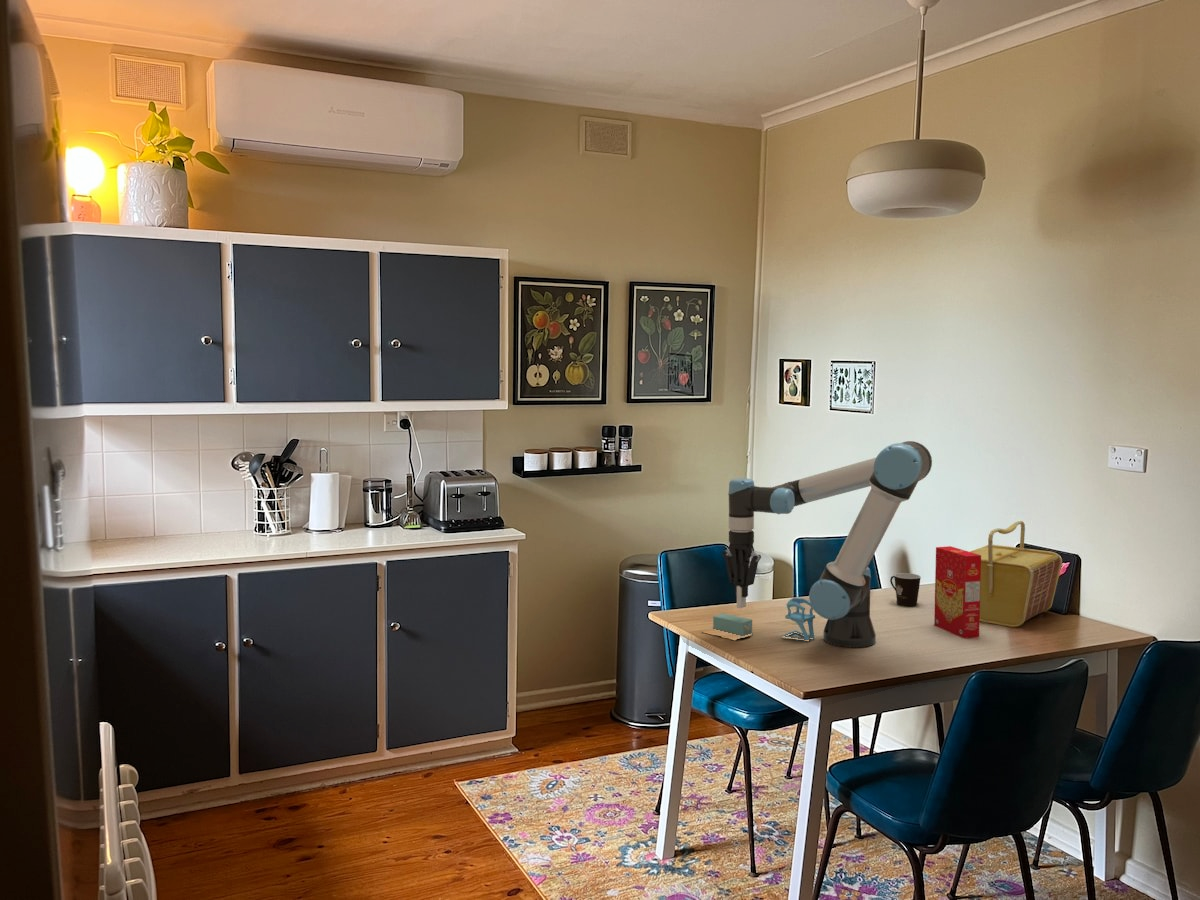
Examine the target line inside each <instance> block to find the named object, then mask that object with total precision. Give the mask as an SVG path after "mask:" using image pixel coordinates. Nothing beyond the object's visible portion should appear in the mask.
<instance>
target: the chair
mask: <svg viewBox="0 0 1200 900" xmlns="http://www.w3.org/2000/svg"><path fill="white" fill-rule="evenodd" d="M802 604H806V605H808V606H809V607H810V608H809V613H806V612H805V610H806V607H804V606H803V605H802ZM793 607H796V609H795V610H796V611H794V612H792V611H791V608H793ZM786 608H787V614H785V615H784V618H785V619H787V620H791V621H792V622H795V624H797V625H798V627H799V629H800V630H801V631H800V630H792V631H790V632H787V633H785V634H782V635H781V637H782V636H785V637H791V638H798V639H804V640H810V638H813V639H814V640H815V633H814V623H813V622H814V619H815V618H816V615H815V614H813V611H814V609H813V608H812V606H811V603H810V600H807V599H804V598H797V597H793V598H791V599H789V600H788V601H787V602H786ZM800 610H801V611H800ZM805 622H807V624H808V633H809V634H808V633H807V630H806V627H805V625H804V623H805ZM794 632H797V633H799V634H802V635H804V636H805V637H803V636H793V635H791V636H786V635H788V634H791V633H794ZM810 641H811V640H810Z"/></svg>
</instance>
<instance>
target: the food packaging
mask: <svg viewBox="0 0 1200 900" xmlns="http://www.w3.org/2000/svg"><path fill="white" fill-rule="evenodd" d="M934 575H935V577H934V578H935V579H934V580H935V581H934V582H935V583H934V618H933V619H934V620H933V621H934V622H933V623H934V627H937V628H939V629H941V630H944V631H945V632H949V633H950V634H952V635H954V636H958V637H959V638H961V639H972V638H980V624H981V623H980V622H981V621H980V584H981V555H979V554H975V553H972V552H970V551H969V550H964V549H961V548H957V547H954V546H950V545H949V546H937V547H935V573H934Z"/></svg>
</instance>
